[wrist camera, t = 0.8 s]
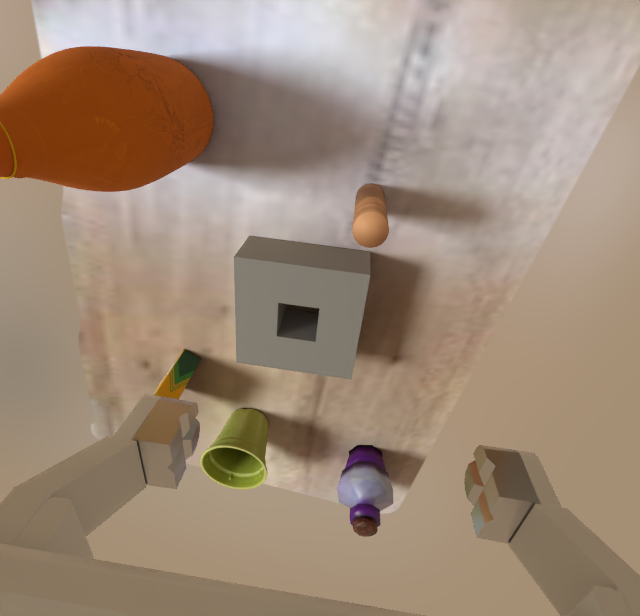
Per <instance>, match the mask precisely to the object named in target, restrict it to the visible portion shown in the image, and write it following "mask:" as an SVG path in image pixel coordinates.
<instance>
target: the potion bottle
mask: <svg viewBox="0 0 640 616" xmlns="http://www.w3.org/2000/svg"><path fill="white" fill-rule="evenodd" d="M337 491H338V498H339V502H340V503H342V504H344V505H346V506H347V507H349V508H350V521H351V524H352V525H353V529H354V531H355V532H356V533H358V534H359V535H360V536H372V535H374V534H376V532H377V527H378V526H380V511H381V510H383V509H384V508H386V507H388V506H390V505H391V504H393V489H392V485H391V482H390V479H389V475H388V472H386V469H385V466H384V463H383V459H382V452H381V451H380V450H378V449H377V448H375V447H373V446H372V445H357V446H356V447H354V448H353V449H352V450H350V451H349V458H348V461H347V464H346V467H345V469H344V470H343V471H342V474H341V477H340V480H339V484H338V487H337Z"/></svg>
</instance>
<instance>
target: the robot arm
mask: <svg viewBox="0 0 640 616" xmlns="http://www.w3.org/2000/svg"><path fill="white" fill-rule="evenodd" d="M197 413H198V405H197V403H195V402H190V401H185V400H179V399H174V398H168V397H161V396H155V395H149V394H145V395H144V396H142V397H141V398H140V399H139V401H138V402H137V403H136V405H135V406H134V407H133V409H132V410H131V412H130V413H129V414H128V416H127V417H126V419H125V420H124V421H123V423H122V424H121V425H120V427H119V428H118V430H117V431H116V432H115V434H114V435H113V436H112V437H108V436H107V437H105V438H103V439H101V440H100V441H98V442H96V443H94V444H92V445H91V446H89V447H87V448H85V449H83V450H81V451H80V452H78V453H76V454H74V455H72V456H71V457H69V458H67V459H65V460H63V461H62V462H60V463H58V464H56V465H55V466H53V467H51V468H49V469H47V470H45V471H44V472H42V473H40V474H38V475H36V476H35V477H33V478H31V479H29V480H27V481H26V482H24V483H22V484H20V485H18V486H17V487H15V488H14V489H13V490H12V491H11V492H10V493H9V494H8V495H7V496H6V498H5V499H4V500H3V501H2V502H1V503H0V616H424V615H417V614H412V613H407V612H400V611H395V610H389V609H383V608H377V607H372V606H366V605H360V604H354V603H348V602H342V601H336V600H331V599H325V598H319V597H312V596H307V595H301V594H295V593H289V592H284V591H278V590H272V589H266V588H259V587H254V586H248V585H243V584H237V583H231V582H225V581H219V580H213V579H207V578H201V577H196V576H189V575H184V574H178V573H172V572H166V571H160V570H154V569H149V568H143V567H137V566H131V565H125V564H119V563H113V562H108V561H101V560H96V559H93V555H92V551H91V549H90V546H89V544H88V541H87V539H86V536H87V535H88V534H90V533H91V532H92V531H93V530H95V529H96V528H97V527H98V526H99V525H101V524H102V523H103V522H104V521H105V520H106V519H108V518H109V517H110V516H112V515H113V514H114V513H115V512H116V511H118V510H119V509H120V508H121V507H122V506H124V505H125V504H126V503H127V502H128V501H130V500H131V499H132V498H133V497H135V496H136V495H137V494H138V493H139V492H141V491H142V490H143V489H144V488H146V485H151V486H158V487H166V488H173V489H177V486H178V484H179V482H180V480H181V478H182V476H183V474H184V471H185V469H186V462H185V460H186V459H187V458H189V457H190V456H191V455H193V453H194V450H195V448H196V446H197V442H198V438H199V432H200V424H199V421H198V420H197V419H196V418H195V417H196V415H197ZM474 457H475V461H473V462H471V463H470V464H469V465H468V467H467V470H466V473H465V490H466V495H467V498H468V499H469V501H470V502H471V503H472V504H473V505H474V508H473V510H472V512H471V516H472V520H473V524H474V528H475V532H476V536H477V538H482V539H488V540H493V541H498V542H504V543H509V547H510V548H511V549H512V551H513V552H514V553H515V555H516V556H517V557H518V559H519V560H520V561H521V563H522V564H523V566H524V567H525V568H526V569H527V571H528V572H529V574H530V575H531V576H532V577H533V579H534V580H535V582H536V583H537V584H538V586H539V587H540V588H541V590H542V591H543V593H544V594H545V595H546V596H547V598H548V599H549V601H550V602H551V603H552V605H553V606H554V607H555V609H556V610H557V611H558V613H559V614H560V615H561V616H640V575H639V574H638V573H637V572H635V571H634V570H633V569H632V568H631V567H630V566H629V565H628V564H627V563H626V562H625V561H624V560H622V559H621V558H620V557H619V556H618V555H617V554H616V553H615V552H614V551H613V550H612V549H611V548H609V547H608V546H607V545H606V544H605V543H604V542H603V541H602V540H601V539H600V538H599V537H597V535H595V534H594V533H593V532H592V531H591V530H590V529H589V528H588V527H587V526H586V525H585V524H584V523H583V522H581V521H580V520H579V519H578V518H577V517H576V516H575V515H574V514H573V513H572V512H570V510H569V509H566V508H562V507H561V505H560V502H559V500H558V498H557V496H556V494H555V492H554V490H553V487H552V486H551V483H550V481H549V479H548V477H547V475H546V473H545V470H544V468H543V466H542V464H541V462H540V460H539V458H538V456H537V455H536V454H535V453H530V452H524V451H516V450H511V449H503V448H497V447H490V446H483V445H479V446H478V447H477V448H476V450H475V452H474Z"/></svg>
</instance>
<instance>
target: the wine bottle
mask: <svg viewBox="0 0 640 616" xmlns="http://www.w3.org/2000/svg"><path fill="white" fill-rule="evenodd" d="M212 130H213V110H212V106H211V102H210V99H209V97H208V94H207V92H206V90H205V88H204V87H203V85H202V83H201V82H200V81H199V79H198V78H197V77H196V76H195V75H194V74H193V73H192V72H191V71H190V70H189V69H188V68H187V67H185V66H184V65H183V64H181V63H179V62H178V61H176V60H174V59H171V58H169V57H165V56H162V55H157V54H152V53H147V52H141V51H134V50H126V49H118V48H110V47H75V48H69V49H65V50H62V51H59V52H56V53H53V54H51V55H49V56H47V57H45V58H43V59H41V60H39V61H38V62H36V63H34V64H33V65H32V66H30V67H29V68H28V69H26V70H25V71H24V72H22V73H21V74H20V75H19V76H18V77H17V78H16V79H15V80H14V81H13V82H12V83H11V84H10V85H9V87H7V89H6V90H5V91H4V92H3V93H2V94H1V95H0V178H3V179H9V178H12V177H15V178H25V177H28V178H34V179H40V180H43V181H48V182H52V183H56V184H60V185H63V186H67V187H72V188H77V189H83V190H91V191H102V192H115V191H125V190H131V189H135V188H139V187H142V186H144V185H147V184H149V183H152V182H154V181H156V180H158V179H160V178H162V177H164V176H166V175H168V174H170V173H171V172H173V171H175V170H177V169H179V168H180V167H182V166H184V165H186V164H187V163H189V162H191V161H192V160H193V159H195V158H196V157H198V156H199V155H200V154H201V153H202V152H203V151H204V149H205V148H206V146H207V145H208V143H209V140H210V138H211V135H212Z"/></svg>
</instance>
